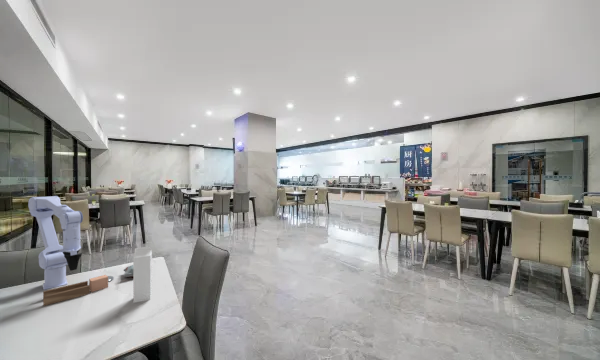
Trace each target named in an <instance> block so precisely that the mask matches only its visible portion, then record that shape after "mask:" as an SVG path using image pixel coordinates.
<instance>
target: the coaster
mask: <svg viewBox="0 0 600 360" xmlns="http://www.w3.org/2000/svg"><path fill="white" fill-rule="evenodd" d="M107 276H108V283H109V282H112V281H113V280H114V277H115V276H112V275H107Z"/></svg>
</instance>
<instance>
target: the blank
mask: <svg viewBox="0 0 600 360" xmlns="http://www.w3.org/2000/svg"><path fill="white" fill-rule="evenodd" d="M108 276H109V275H107V274H103V275H100V276H96V277H92V278H91V277H90V278H89V280H88V285H89V286H90V292H91V293H92V292H93V293H94V292H95V291H96V292H97V291H99V290H104V289H107V288H109V282H108Z"/></svg>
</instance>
